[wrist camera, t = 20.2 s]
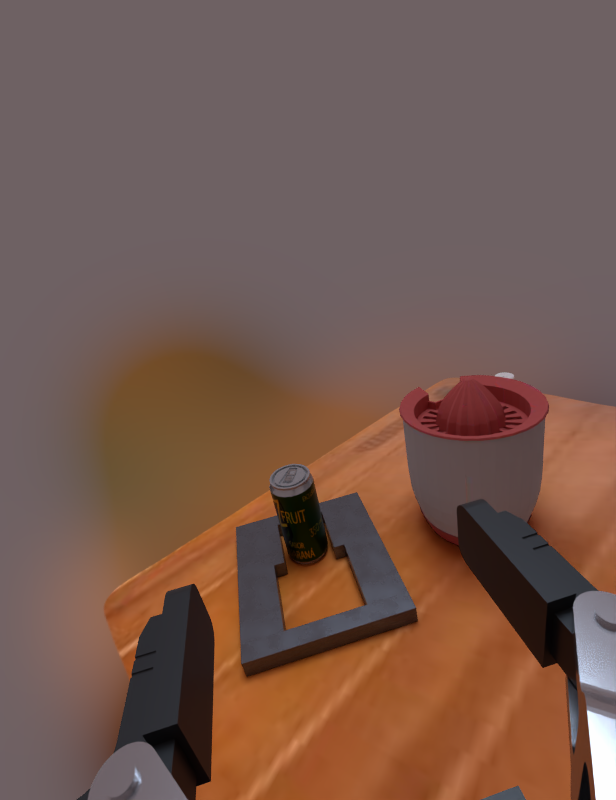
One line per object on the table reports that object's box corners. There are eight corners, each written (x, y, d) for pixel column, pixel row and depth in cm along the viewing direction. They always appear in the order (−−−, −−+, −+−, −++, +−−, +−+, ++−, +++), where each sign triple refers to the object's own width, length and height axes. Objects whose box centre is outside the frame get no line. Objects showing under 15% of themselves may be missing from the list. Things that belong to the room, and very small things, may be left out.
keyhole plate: (417, 620, 41) (416, 607, 41) (246, 676, 40) (241, 664, 39) (358, 503, 60) (356, 492, 59) (239, 537, 58) (236, 527, 57)
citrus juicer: (487, 463, 62) (485, 340, 54) (574, 543, 46) (589, 384, 38) (390, 490, 61) (373, 368, 53) (445, 581, 45) (433, 426, 37)
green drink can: (295, 534, 56) (276, 463, 51) (332, 536, 55) (316, 462, 50) (283, 565, 52) (261, 489, 47) (323, 567, 50) (304, 490, 45)
